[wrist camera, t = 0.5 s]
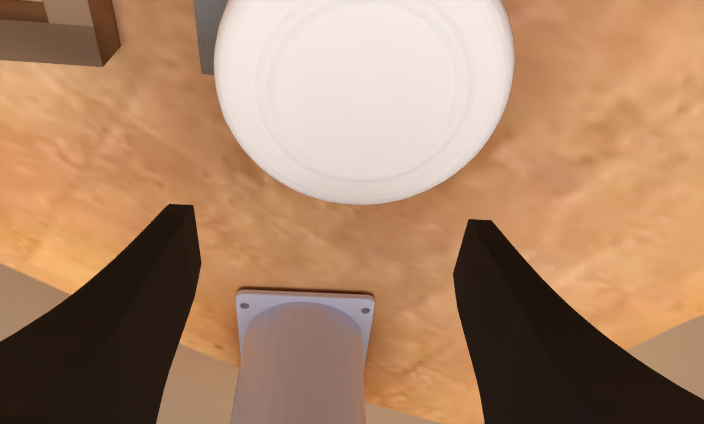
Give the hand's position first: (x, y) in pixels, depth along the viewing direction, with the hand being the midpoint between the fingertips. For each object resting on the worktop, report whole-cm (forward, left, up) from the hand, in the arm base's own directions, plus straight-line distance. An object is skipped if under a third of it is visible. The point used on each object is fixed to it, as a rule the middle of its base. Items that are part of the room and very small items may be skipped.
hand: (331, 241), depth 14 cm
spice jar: (+6, 0, -10) cm, 12 cm away
